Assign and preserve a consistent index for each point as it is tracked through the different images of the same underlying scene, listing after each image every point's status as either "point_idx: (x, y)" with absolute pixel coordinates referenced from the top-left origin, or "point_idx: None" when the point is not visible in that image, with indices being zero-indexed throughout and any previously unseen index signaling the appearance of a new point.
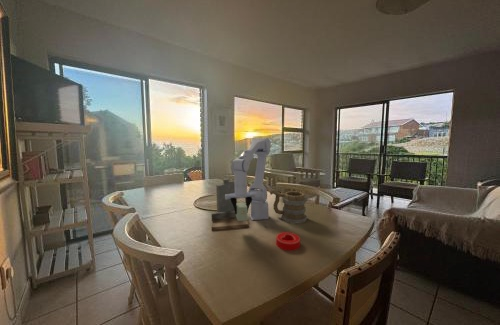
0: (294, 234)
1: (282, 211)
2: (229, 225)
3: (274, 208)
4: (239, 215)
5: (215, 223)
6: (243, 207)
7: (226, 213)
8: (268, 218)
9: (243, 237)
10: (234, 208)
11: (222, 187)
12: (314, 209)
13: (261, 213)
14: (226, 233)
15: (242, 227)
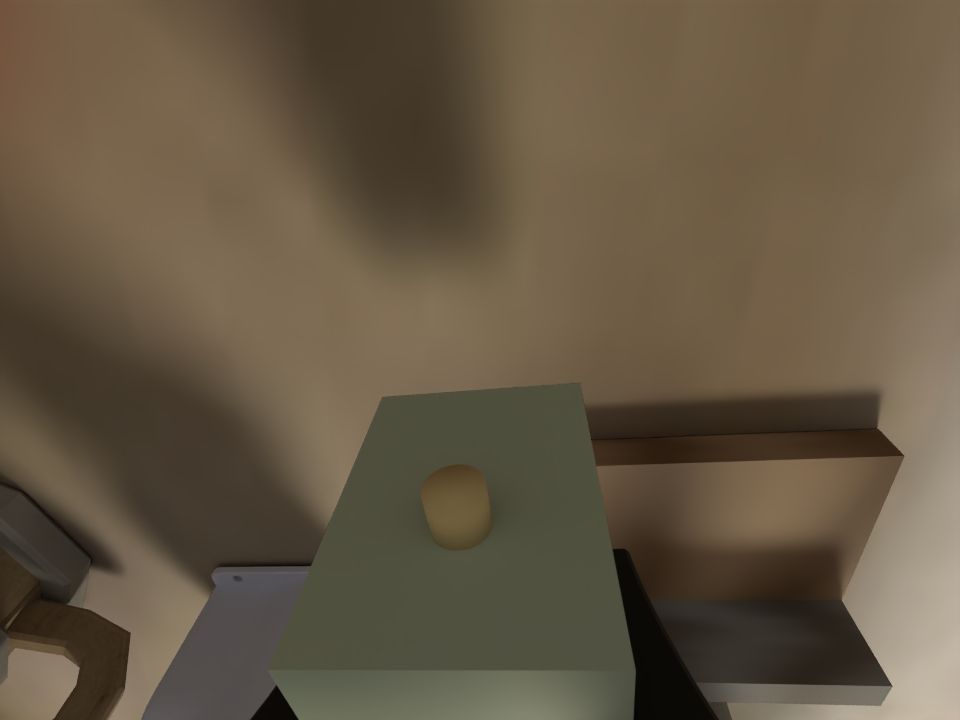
0: None
1: (31, 633)
2: (654, 469)
3: (111, 685)
4: (546, 463)
5: (819, 534)
6: (404, 680)
7: None
8: (215, 570)
9: (488, 191)
10: (694, 692)
11: None
12: None
13: (260, 631)
14: (707, 330)
15: None
